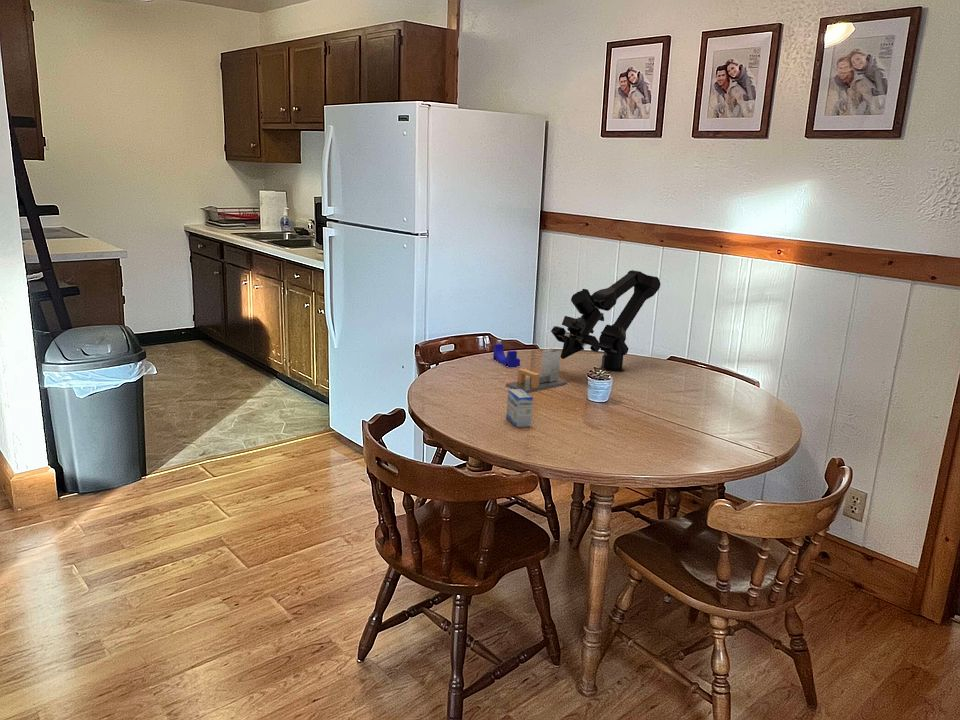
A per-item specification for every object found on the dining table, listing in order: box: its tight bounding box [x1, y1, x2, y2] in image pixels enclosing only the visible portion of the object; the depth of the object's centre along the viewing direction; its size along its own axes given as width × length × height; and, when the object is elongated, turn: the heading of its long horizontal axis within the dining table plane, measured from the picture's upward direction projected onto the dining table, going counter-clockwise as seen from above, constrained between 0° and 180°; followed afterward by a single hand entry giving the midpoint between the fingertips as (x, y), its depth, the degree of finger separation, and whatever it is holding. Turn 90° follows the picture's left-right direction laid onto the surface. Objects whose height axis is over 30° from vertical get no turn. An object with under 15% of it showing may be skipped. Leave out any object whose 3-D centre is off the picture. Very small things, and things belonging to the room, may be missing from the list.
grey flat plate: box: [505, 378, 568, 394], centre depth 245 cm, size 19×9×1 cm, turn 130°
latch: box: [529, 348, 561, 383], centre depth 245 cm, size 10×4×10 cm, turn 130°
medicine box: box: [505, 388, 534, 428], centre depth 208 cm, size 8×4×9 cm, turn 21°
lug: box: [516, 368, 540, 388], centre depth 242 cm, size 2×8×4 cm, turn 40°
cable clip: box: [492, 343, 521, 368], centre depth 270 cm, size 12×4×6 cm, turn 26°
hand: (561, 358), depth 250 cm, fingers closed
